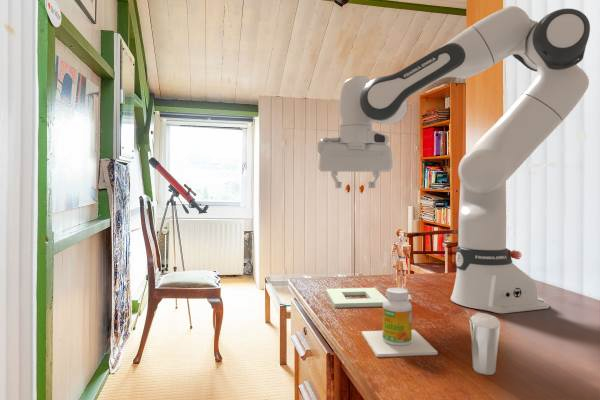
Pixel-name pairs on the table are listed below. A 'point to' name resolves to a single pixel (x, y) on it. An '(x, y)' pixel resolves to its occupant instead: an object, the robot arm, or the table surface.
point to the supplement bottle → (397, 317)
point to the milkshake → (484, 342)
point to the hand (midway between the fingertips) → (355, 188)
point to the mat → (387, 350)
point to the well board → (339, 299)
